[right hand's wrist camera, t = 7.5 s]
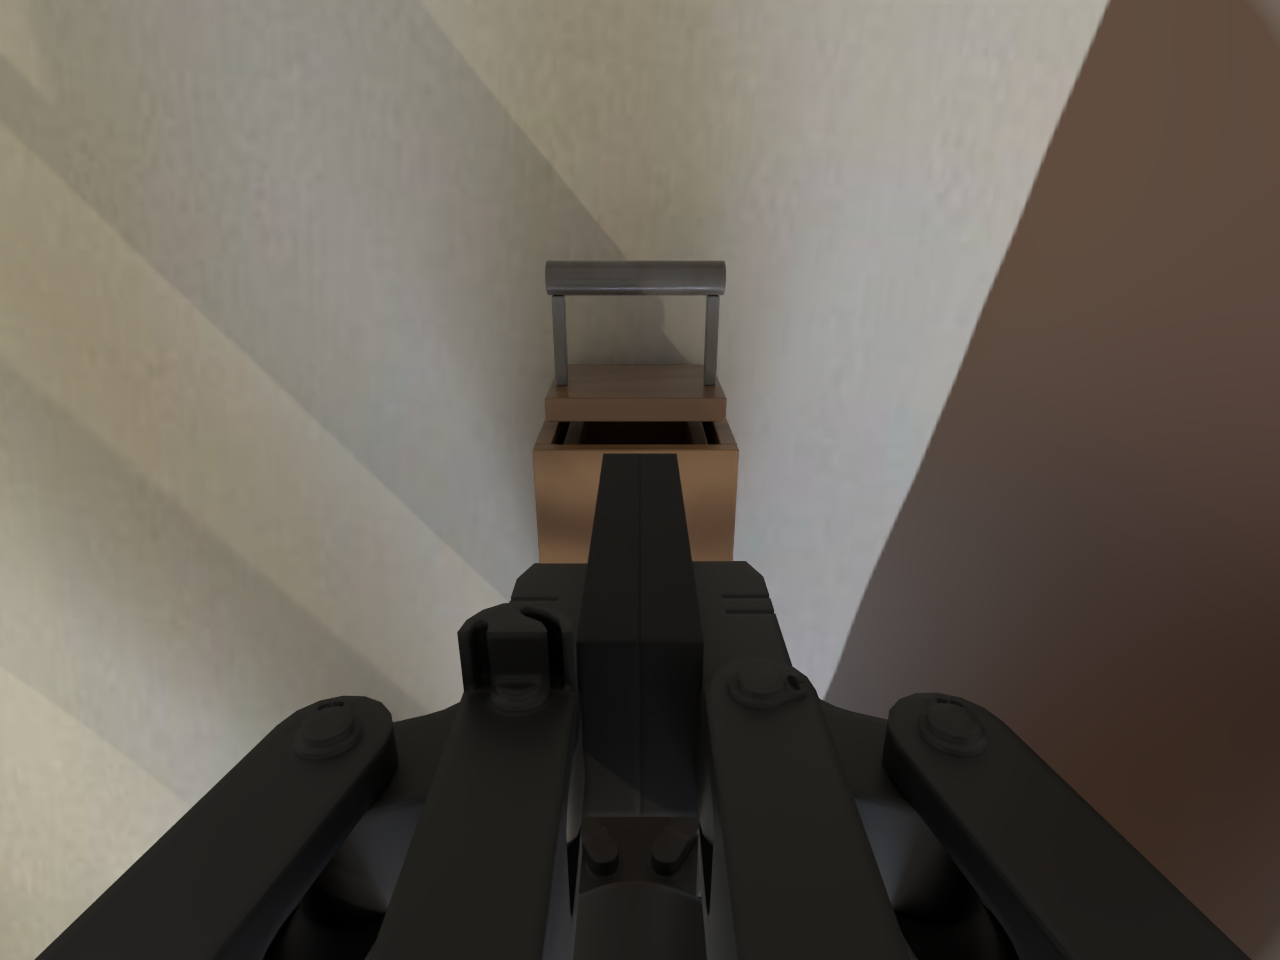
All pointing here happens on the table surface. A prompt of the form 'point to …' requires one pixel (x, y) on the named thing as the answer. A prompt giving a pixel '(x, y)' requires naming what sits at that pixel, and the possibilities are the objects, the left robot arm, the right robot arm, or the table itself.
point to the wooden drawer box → (574, 484)
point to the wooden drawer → (635, 394)
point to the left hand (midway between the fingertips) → (636, 654)
